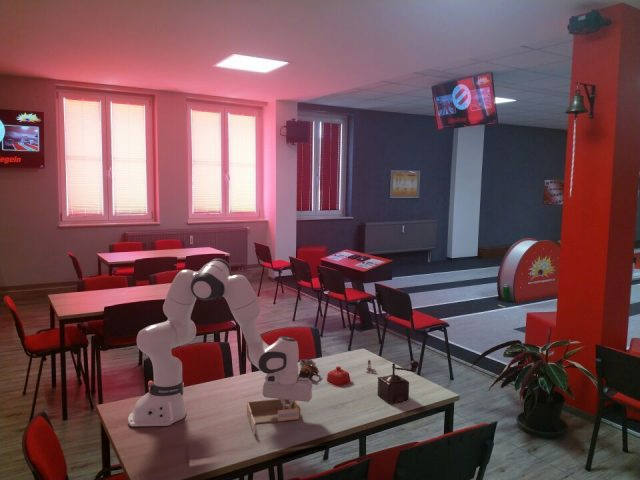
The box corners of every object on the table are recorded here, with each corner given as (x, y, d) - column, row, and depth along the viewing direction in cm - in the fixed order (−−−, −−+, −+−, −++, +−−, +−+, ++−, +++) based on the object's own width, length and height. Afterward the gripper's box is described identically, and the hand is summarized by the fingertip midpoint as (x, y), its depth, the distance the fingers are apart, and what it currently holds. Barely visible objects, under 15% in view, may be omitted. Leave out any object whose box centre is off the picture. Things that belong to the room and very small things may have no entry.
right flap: (278, 421, 196) (278, 411, 195) (277, 420, 196) (277, 410, 196) (300, 418, 198) (300, 408, 198) (300, 418, 199) (300, 408, 199)
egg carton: (316, 371, 251) (316, 363, 251) (302, 373, 250) (301, 365, 250) (313, 364, 262) (312, 356, 261) (299, 365, 261) (298, 358, 260)
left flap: (249, 423, 193) (250, 413, 193) (251, 423, 194) (251, 412, 193) (253, 434, 185) (253, 423, 184) (255, 434, 185) (255, 423, 185)
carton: (250, 424, 194) (250, 412, 194) (246, 413, 204) (246, 401, 203) (299, 419, 200) (300, 407, 199) (294, 408, 209) (294, 397, 209)
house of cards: (382, 379, 245) (382, 364, 245) (364, 378, 246) (364, 363, 246) (381, 373, 254) (382, 358, 254) (364, 372, 255) (365, 357, 255)
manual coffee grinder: (389, 406, 213) (390, 366, 211) (376, 397, 223) (377, 358, 221) (419, 401, 219) (421, 361, 217) (406, 392, 229) (407, 354, 227)
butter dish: (321, 382, 239) (321, 365, 239) (339, 377, 247) (339, 361, 246) (336, 390, 231) (337, 372, 230) (355, 384, 238) (355, 367, 237)
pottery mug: (294, 377, 246) (300, 361, 248) (310, 384, 248) (316, 368, 250) (301, 380, 235) (308, 363, 237) (318, 387, 237) (325, 371, 239)
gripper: (314, 376, 202) (313, 408, 203) (266, 371, 207) (266, 403, 208) (310, 381, 196) (310, 415, 197) (261, 376, 200) (261, 409, 202)
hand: (287, 409), depth 202 cm, fingers closed
